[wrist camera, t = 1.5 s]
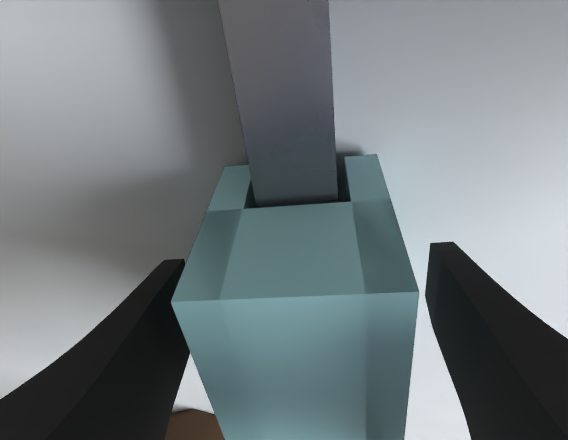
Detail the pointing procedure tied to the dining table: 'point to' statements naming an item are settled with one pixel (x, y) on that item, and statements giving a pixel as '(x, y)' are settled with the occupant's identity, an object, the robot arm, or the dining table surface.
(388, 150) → the dining table surface
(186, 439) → the beer bottle
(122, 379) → the robot arm
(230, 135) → the dining table surface
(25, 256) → the dining table surface
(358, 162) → the block
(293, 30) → the rail
